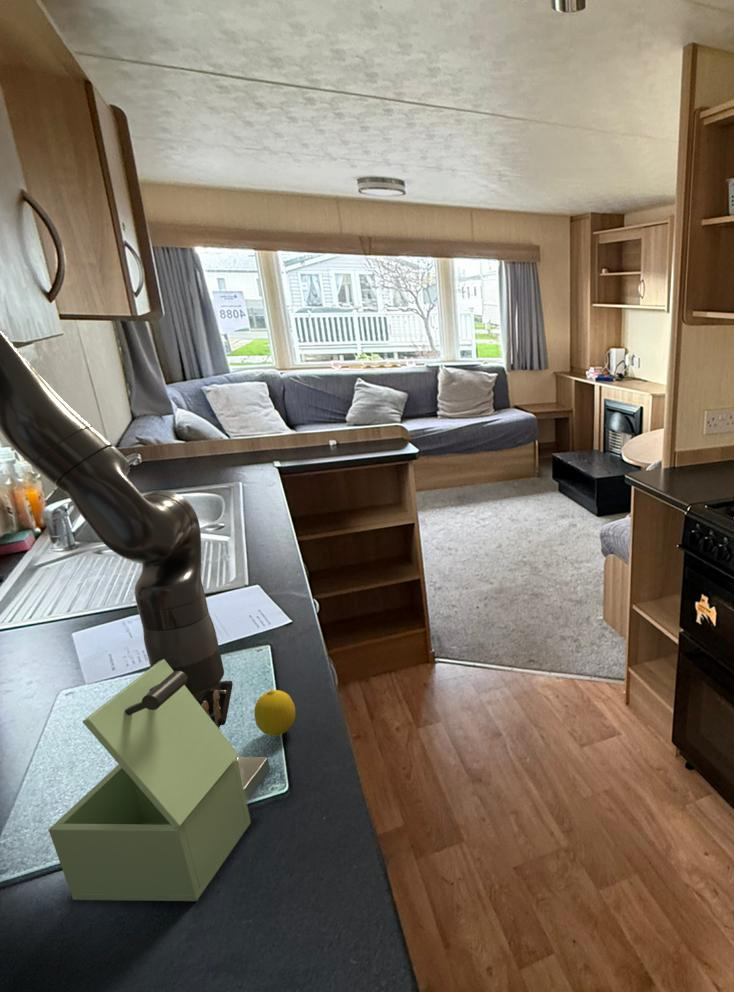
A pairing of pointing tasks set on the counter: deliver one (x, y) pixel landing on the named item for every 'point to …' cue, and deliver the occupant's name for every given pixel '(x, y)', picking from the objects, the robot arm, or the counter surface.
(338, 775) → the counter surface
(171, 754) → the lid
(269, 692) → the lemon
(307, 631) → the counter surface
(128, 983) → the counter surface
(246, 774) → the switch block
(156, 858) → the green lidded box
